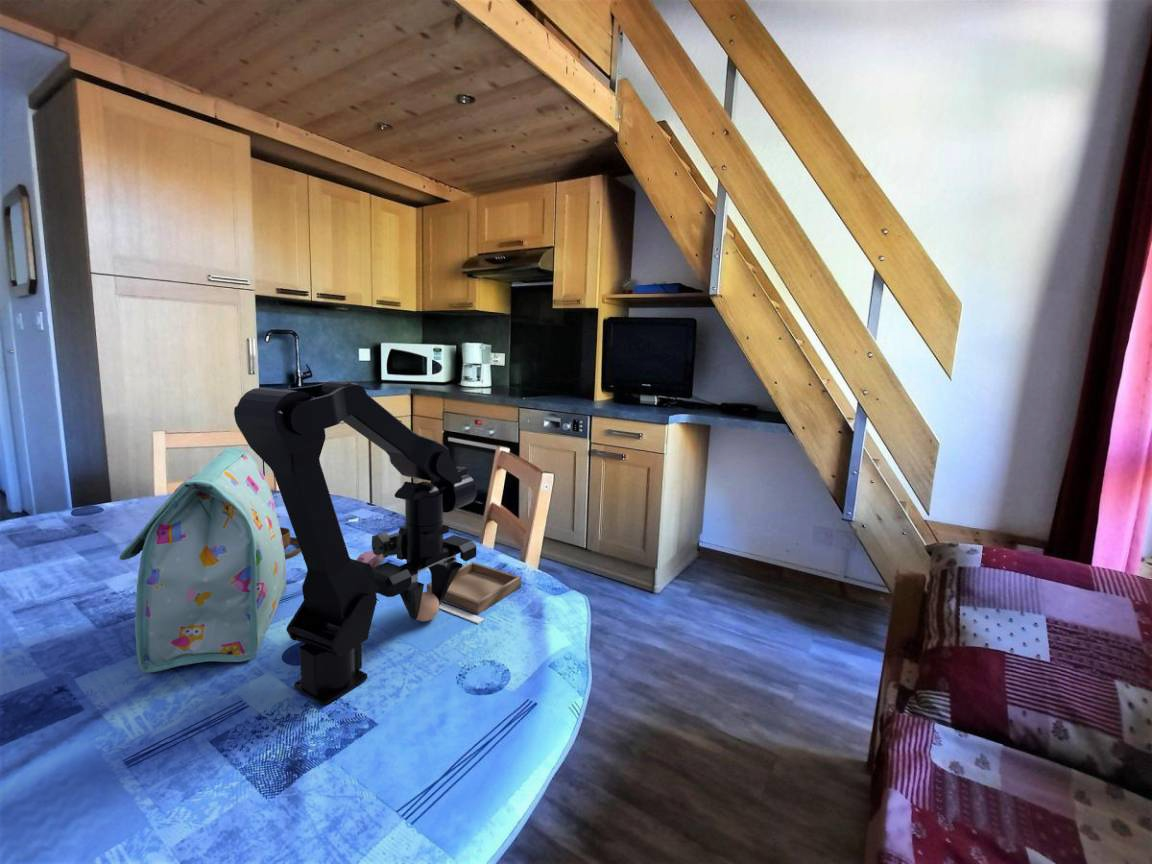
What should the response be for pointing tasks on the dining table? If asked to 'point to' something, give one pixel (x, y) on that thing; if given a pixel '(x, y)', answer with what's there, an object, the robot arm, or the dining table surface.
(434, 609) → the ball
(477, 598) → the tray
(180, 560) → the lunch bag
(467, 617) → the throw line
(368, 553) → the video game controller
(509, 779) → the dining table surface
